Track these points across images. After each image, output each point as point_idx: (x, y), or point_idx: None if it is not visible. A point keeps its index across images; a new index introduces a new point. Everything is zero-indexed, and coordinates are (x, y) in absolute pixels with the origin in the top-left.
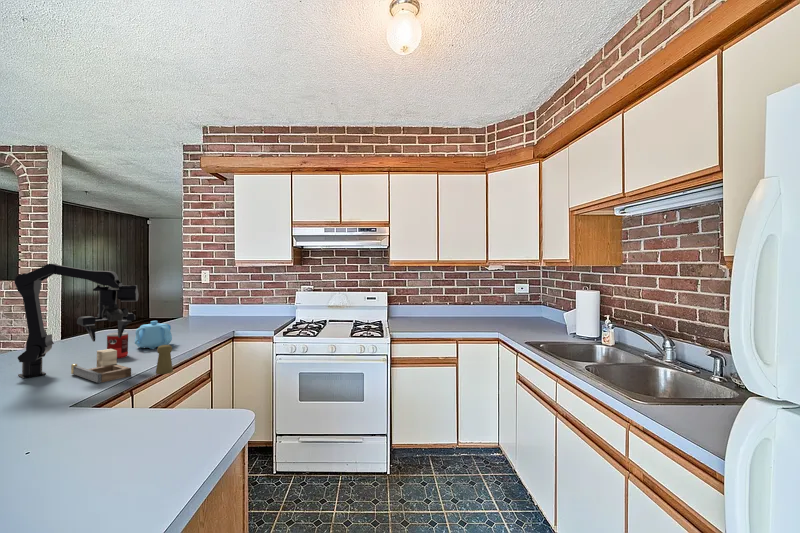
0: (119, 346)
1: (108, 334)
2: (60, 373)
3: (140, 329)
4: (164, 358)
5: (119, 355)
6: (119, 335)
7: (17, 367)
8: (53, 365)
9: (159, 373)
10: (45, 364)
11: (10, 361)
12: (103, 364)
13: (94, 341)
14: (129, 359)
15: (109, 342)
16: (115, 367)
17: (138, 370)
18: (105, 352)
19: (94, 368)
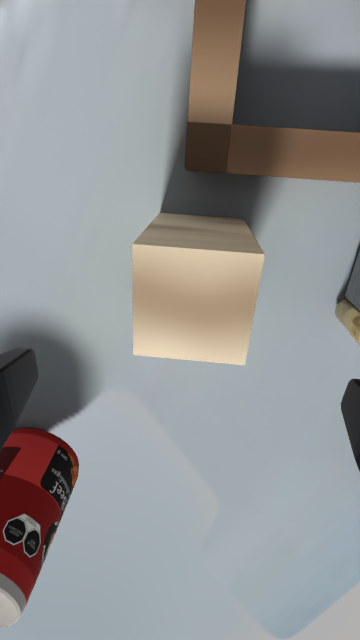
0: (9, 484)
1: (13, 614)
2: None
3: None
4: None
5: (35, 439)
6: (15, 376)
7: (337, 570)
8: (264, 516)
9: None
10: (268, 545)
11: (290, 630)
12: (244, 228)
13: (352, 382)
14: None
15: (40, 540)
16: (238, 61)
17: (81, 22)
18: (241, 251)
19: (356, 156)
